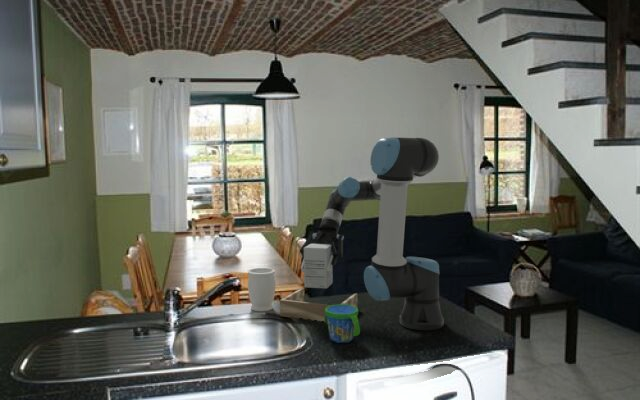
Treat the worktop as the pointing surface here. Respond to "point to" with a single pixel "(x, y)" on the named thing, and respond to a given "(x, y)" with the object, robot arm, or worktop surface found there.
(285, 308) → the wooden u-shaped frame
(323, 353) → the worktop surface
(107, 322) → the worktop surface
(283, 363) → the worktop surface
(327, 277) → the supplement box
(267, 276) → the jar
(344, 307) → the snack cup
